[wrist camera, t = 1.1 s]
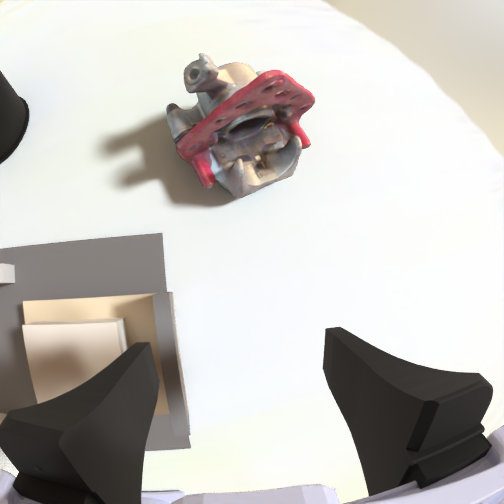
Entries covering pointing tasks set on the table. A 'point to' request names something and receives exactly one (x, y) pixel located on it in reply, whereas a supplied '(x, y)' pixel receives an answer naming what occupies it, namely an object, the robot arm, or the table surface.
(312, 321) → the table surface
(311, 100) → the brake caliper
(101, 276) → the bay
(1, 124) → the aerosol can
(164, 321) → the grey beige angular piece
